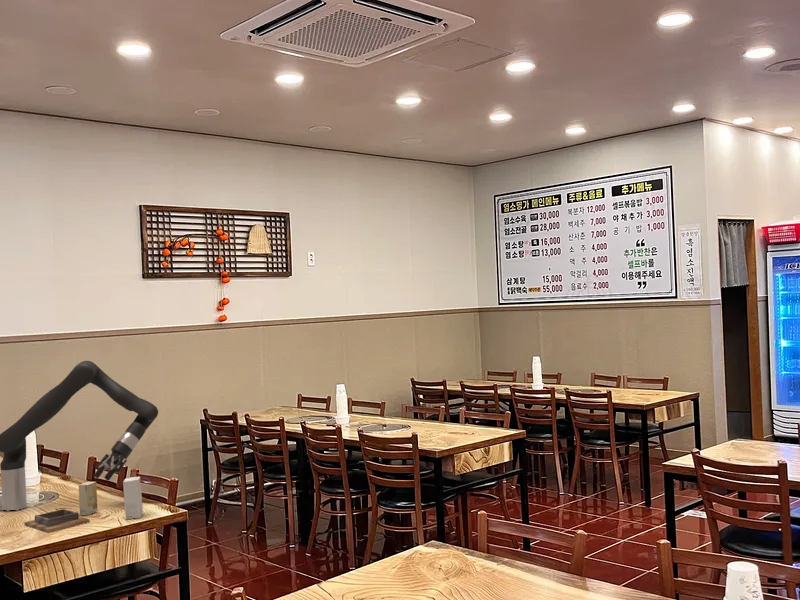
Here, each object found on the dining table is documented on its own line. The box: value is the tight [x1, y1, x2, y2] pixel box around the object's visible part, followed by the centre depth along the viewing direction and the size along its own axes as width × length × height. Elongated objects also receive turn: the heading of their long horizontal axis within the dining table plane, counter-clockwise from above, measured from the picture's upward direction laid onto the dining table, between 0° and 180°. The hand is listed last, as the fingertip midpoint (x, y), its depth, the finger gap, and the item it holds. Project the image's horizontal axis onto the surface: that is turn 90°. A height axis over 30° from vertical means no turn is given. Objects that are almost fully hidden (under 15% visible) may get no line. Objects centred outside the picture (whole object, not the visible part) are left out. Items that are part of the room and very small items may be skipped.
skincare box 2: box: [122, 476, 144, 520], centre depth 309 cm, size 8×6×15 cm
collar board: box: [24, 508, 91, 534], centre depth 304 cm, size 20×16×4 cm
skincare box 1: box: [78, 481, 99, 516], centre depth 318 cm, size 6×4×12 cm
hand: (100, 478), depth 323 cm, fingers open, 8 cm apart
